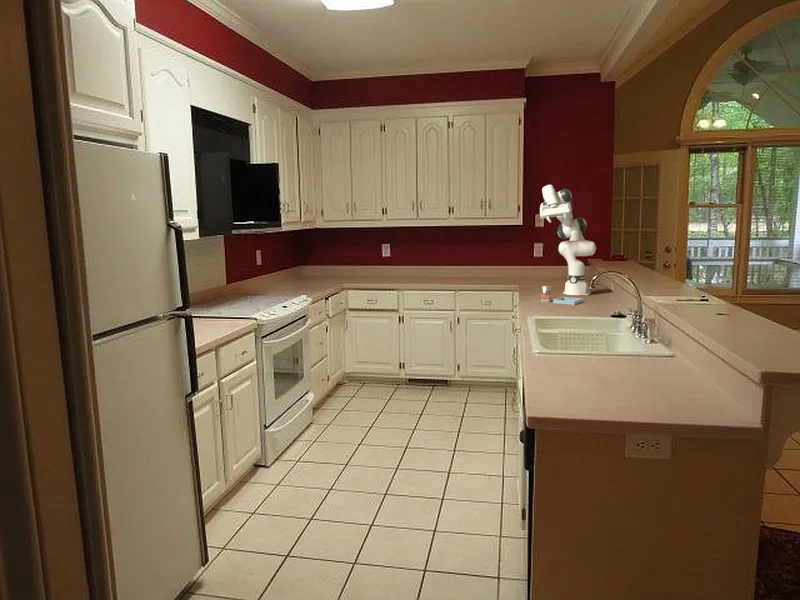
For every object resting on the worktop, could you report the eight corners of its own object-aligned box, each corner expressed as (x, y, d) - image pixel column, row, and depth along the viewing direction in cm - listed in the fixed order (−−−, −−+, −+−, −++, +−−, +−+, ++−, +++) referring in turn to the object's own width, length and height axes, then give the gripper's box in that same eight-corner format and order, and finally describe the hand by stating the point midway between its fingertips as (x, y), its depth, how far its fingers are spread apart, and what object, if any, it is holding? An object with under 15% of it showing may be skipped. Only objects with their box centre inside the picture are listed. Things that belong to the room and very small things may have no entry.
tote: (562, 301, 386) (562, 296, 386) (583, 302, 378) (583, 298, 377) (553, 304, 373) (553, 299, 373) (574, 306, 365) (574, 301, 365)
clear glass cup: (543, 301, 386) (543, 285, 384) (552, 302, 382) (552, 285, 380) (539, 302, 381) (540, 286, 379) (548, 303, 377) (548, 286, 376)
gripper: (566, 205, 406) (571, 221, 399) (537, 209, 406) (542, 225, 400) (568, 199, 400) (573, 216, 394) (538, 204, 400) (543, 220, 394)
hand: (557, 221), depth 397 cm, fingers open, 8 cm apart
